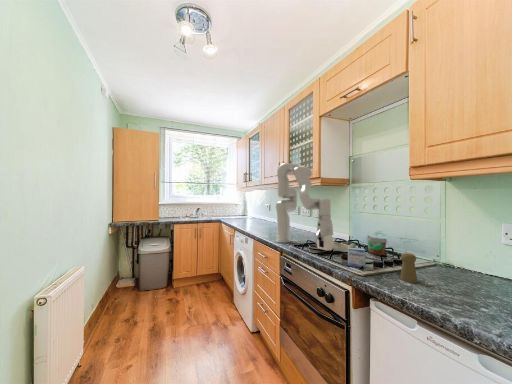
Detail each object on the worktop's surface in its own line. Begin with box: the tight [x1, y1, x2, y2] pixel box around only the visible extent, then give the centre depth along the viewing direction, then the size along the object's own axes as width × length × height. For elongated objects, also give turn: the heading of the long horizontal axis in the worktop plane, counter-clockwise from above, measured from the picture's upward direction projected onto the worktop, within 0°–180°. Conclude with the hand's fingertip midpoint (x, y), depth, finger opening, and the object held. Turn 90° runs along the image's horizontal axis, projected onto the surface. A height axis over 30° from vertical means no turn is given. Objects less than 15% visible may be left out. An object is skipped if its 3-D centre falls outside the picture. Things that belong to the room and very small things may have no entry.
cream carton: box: [316, 235, 333, 251], centre depth 143 cm, size 5×8×9 cm, turn 30°
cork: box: [399, 252, 418, 284], centre depth 93 cm, size 6×6×11 cm
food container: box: [365, 235, 388, 257], centre depth 134 cm, size 12×6×10 cm, turn 25°
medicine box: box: [347, 247, 366, 269], centre depth 112 cm, size 8×4×9 cm, turn 68°
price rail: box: [315, 236, 356, 253], centre depth 147 cm, size 30×2×6 cm, turn 30°
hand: (324, 246), depth 143 cm, fingers closed on cream carton, 5 cm apart
